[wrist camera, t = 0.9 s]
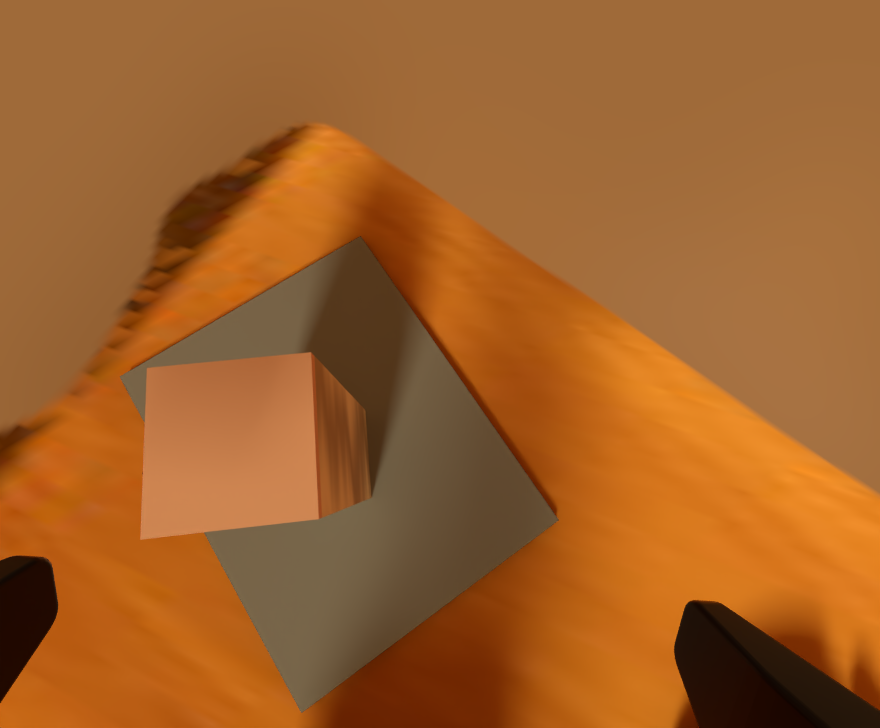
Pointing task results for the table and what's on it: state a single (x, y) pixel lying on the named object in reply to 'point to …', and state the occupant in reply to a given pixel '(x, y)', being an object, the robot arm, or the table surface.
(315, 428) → the maple block
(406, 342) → the rubber mat
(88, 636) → the table surface
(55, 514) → the table surface
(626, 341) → the table surface
